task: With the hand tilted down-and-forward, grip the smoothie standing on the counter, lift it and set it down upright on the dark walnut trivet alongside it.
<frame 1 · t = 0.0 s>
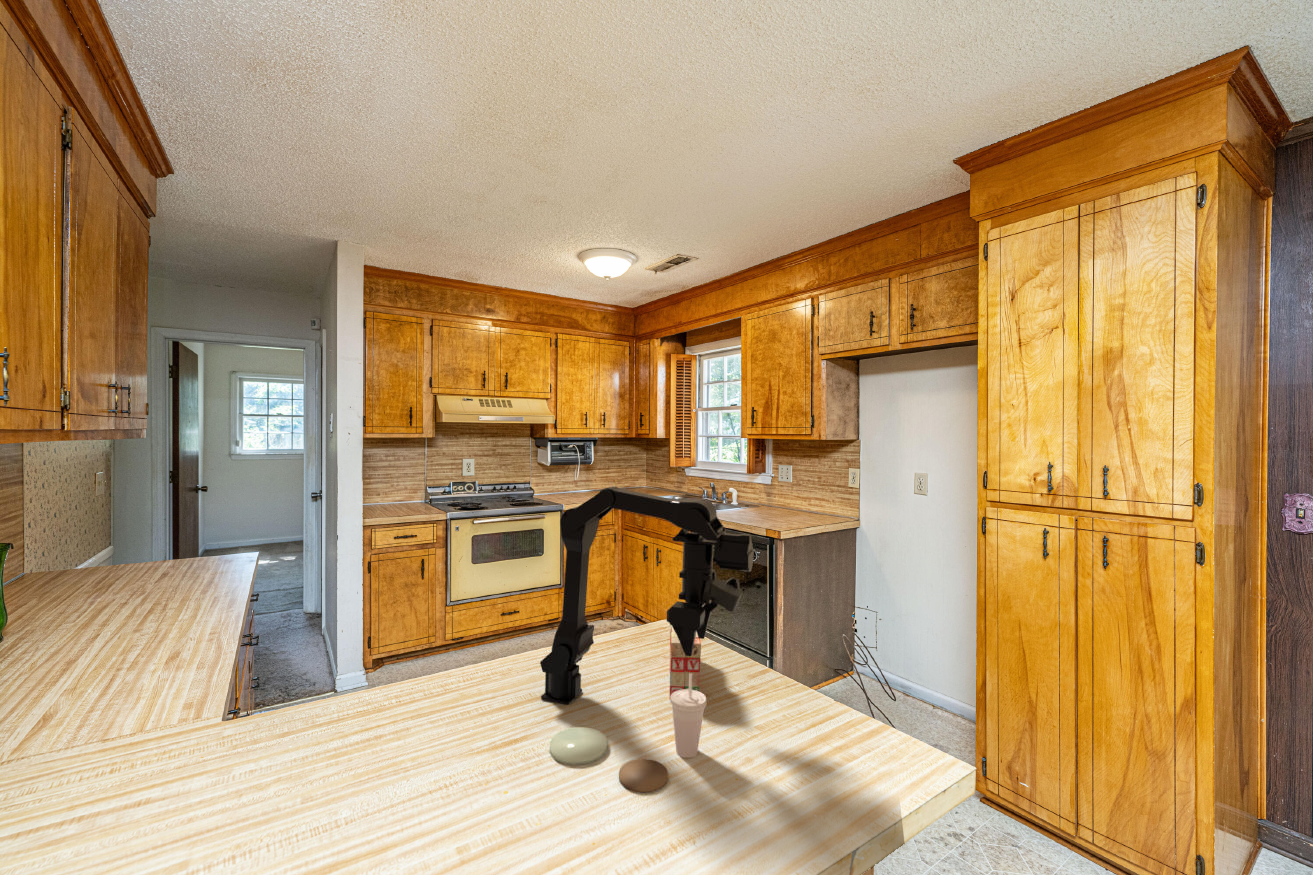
hand: (695, 646, 110), 15 cm above the counter, tool pointing down, fingers open, 9 cm apart
stack of blocks: (683, 678, 130), on the counter
trivet: (643, 776, 93), on the counter
smoothie: (686, 752, 101), on the counter
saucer: (578, 747, 101), on the counter
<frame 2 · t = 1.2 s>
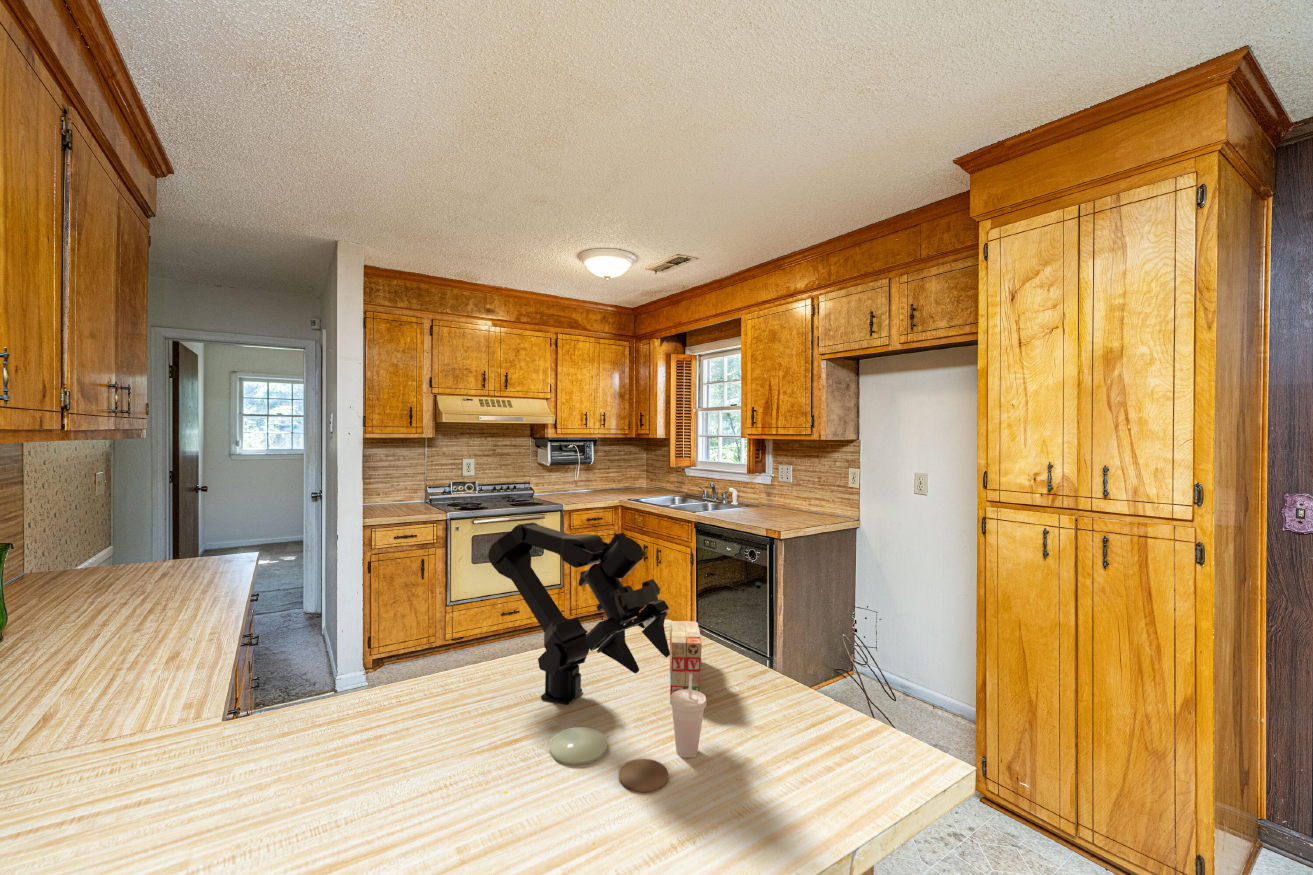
hand: (653, 663, 105), 13 cm above the counter, tool tilted 45°, fingers open, 9 cm apart
nothing on the counter moved.
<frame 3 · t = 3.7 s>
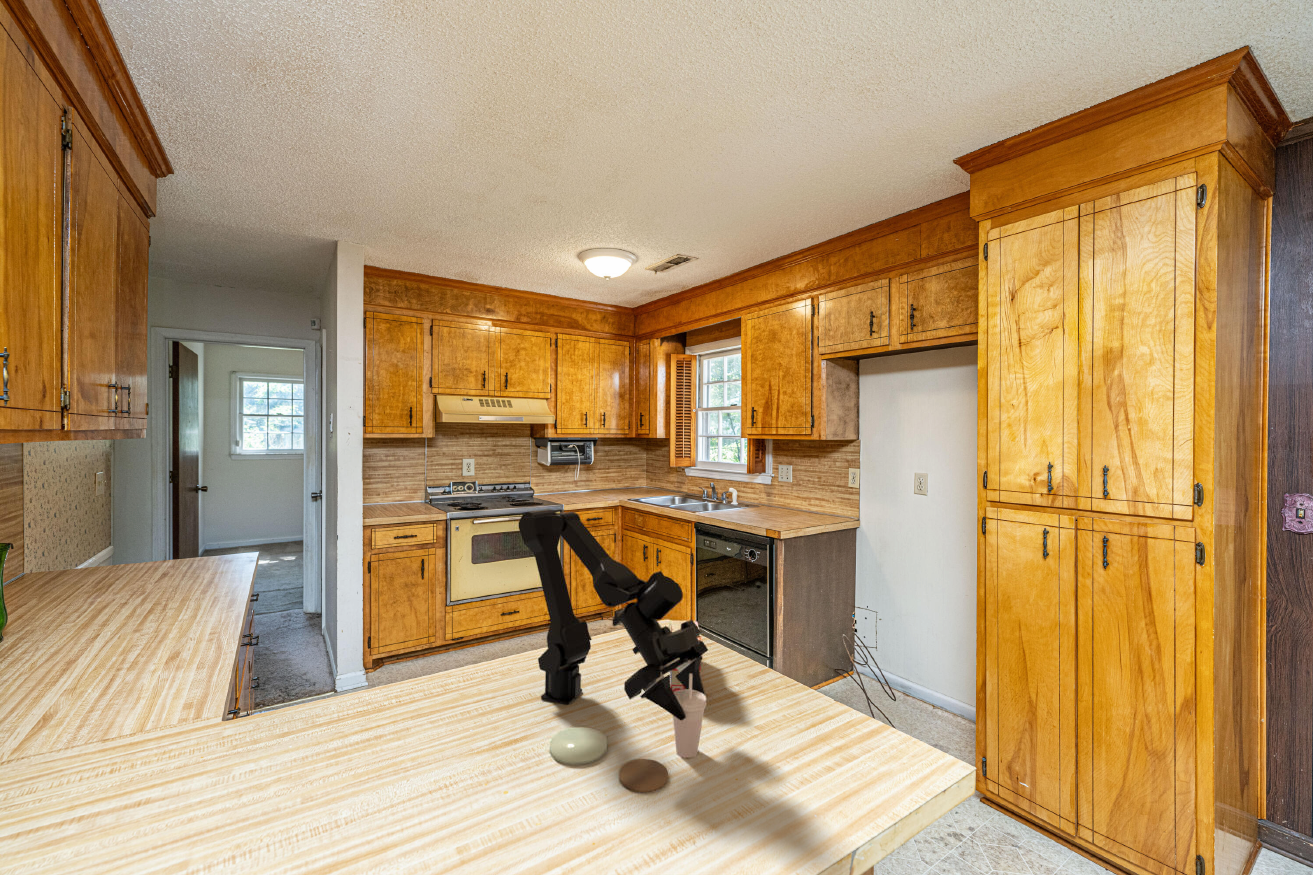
hand: (694, 711, 100), 8 cm above the counter, tool tilted 45°, fingers closed on smoothie, 6 cm apart
smoothie: (686, 752, 101), on the counter, touching gripper
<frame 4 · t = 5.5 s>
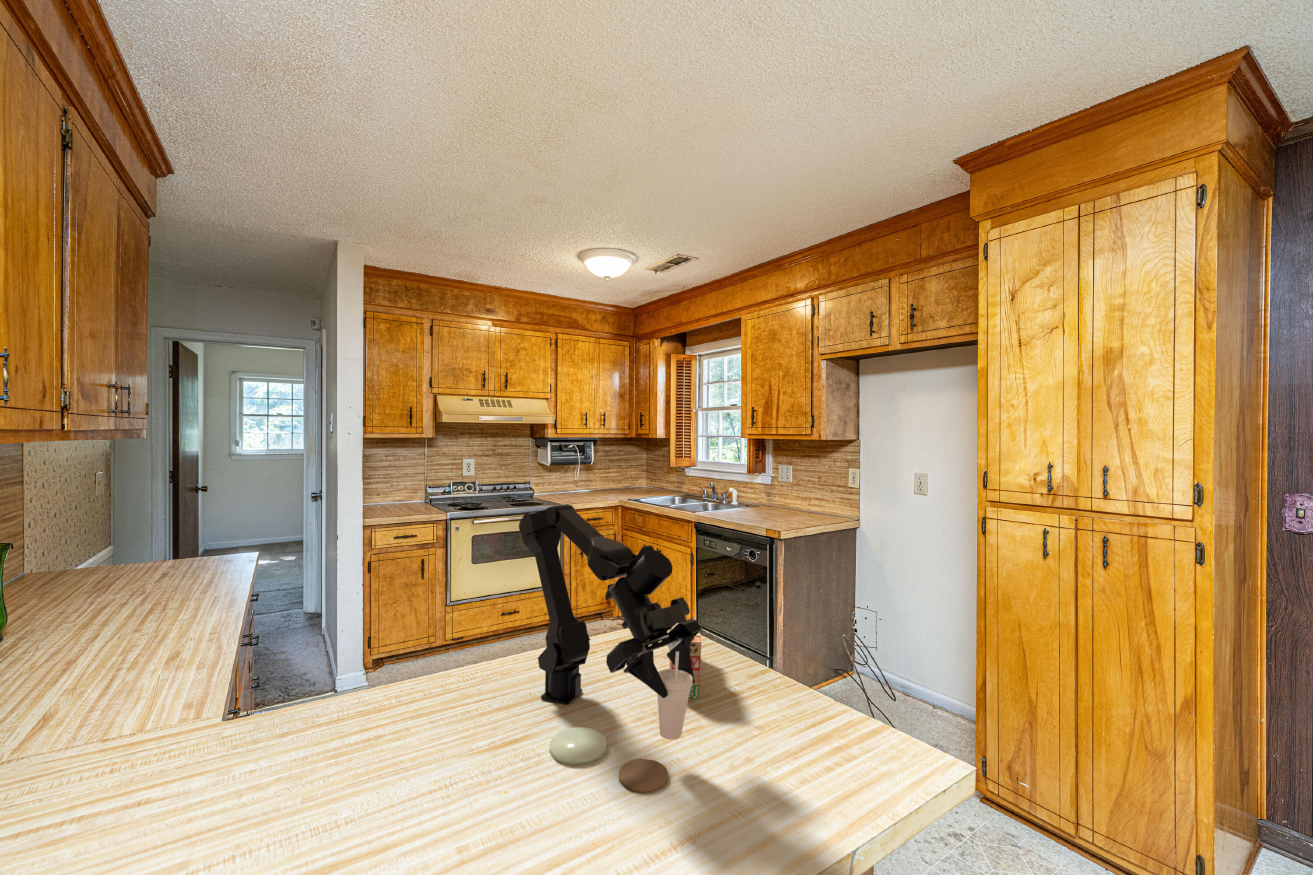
hand: (679, 690, 96), 13 cm above the counter, tool tilted 45°, fingers closed on smoothie, 6 cm apart
smoothie: (670, 734, 97), point 5 cm above the counter, touching gripper
everything else where it was.
when the fingers open (9 cm above the counter, at t = 7.6 s): smoothie stays where it is, resting on trivet.
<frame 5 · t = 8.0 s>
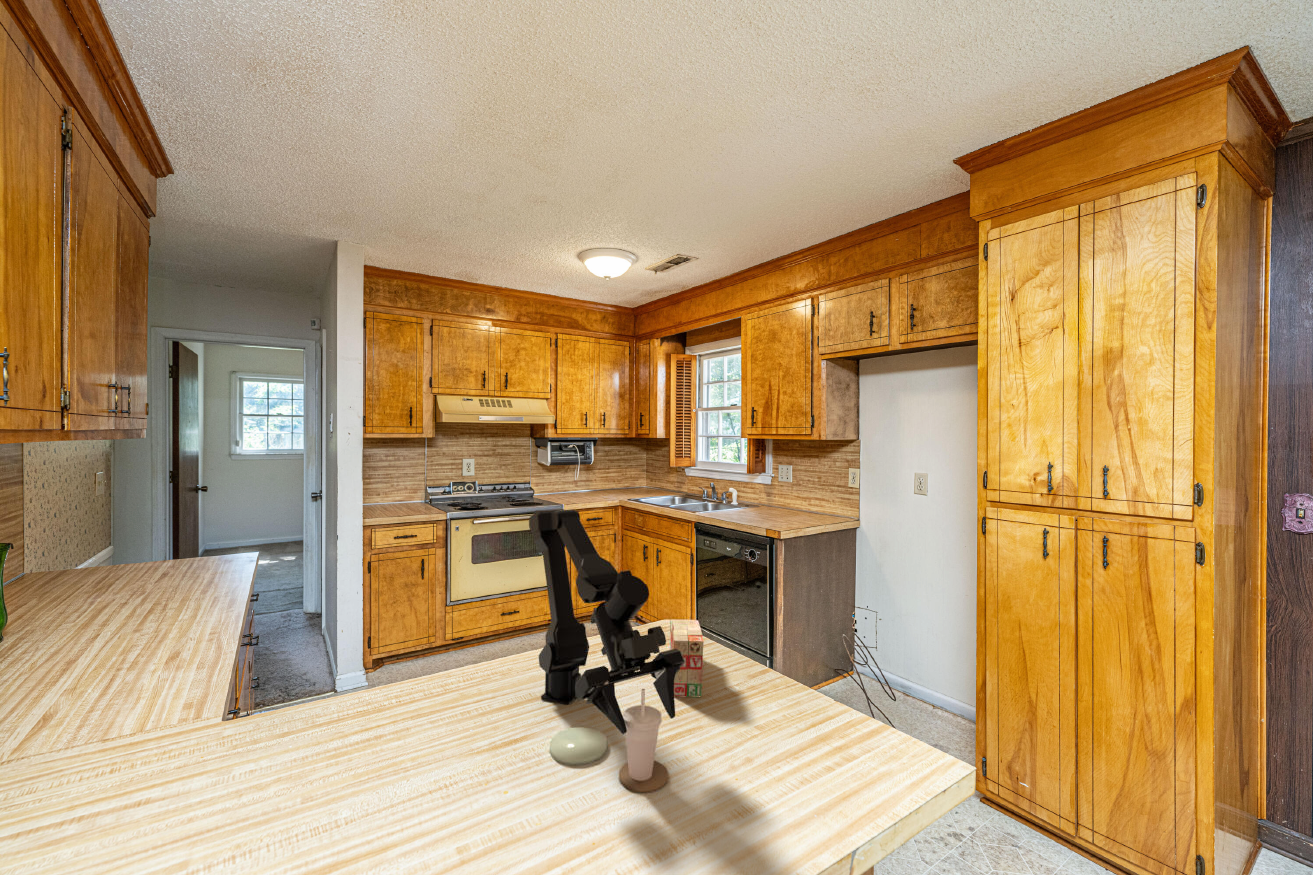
hand: (649, 724, 92), 9 cm above the counter, tool tilted 45°, fingers open, 9 cm apart
smoothie: (640, 774, 93), resting on trivet
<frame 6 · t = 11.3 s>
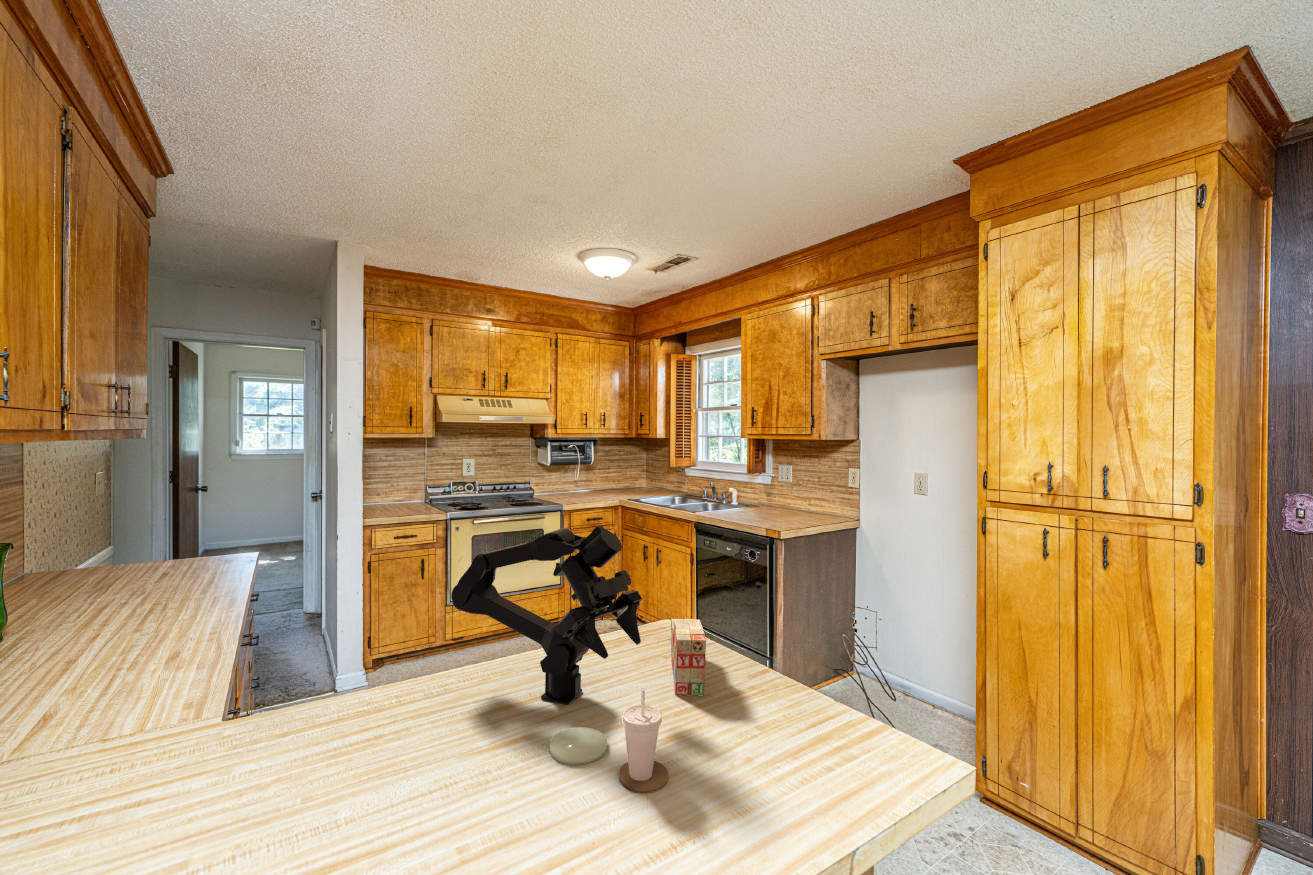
hand: (623, 650, 110), 14 cm above the counter, tool tilted 45°, fingers open, 9 cm apart
at the end: smoothie 0.5 cm from the trivet (horizontally); smoothie tilted 0°; the gripper is holding nothing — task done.
